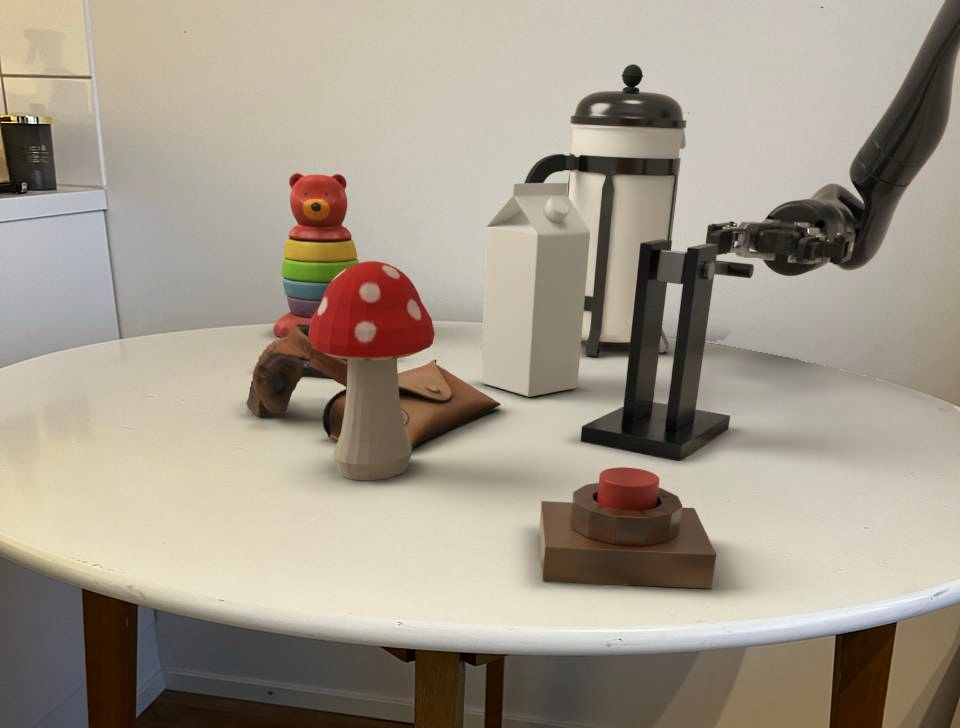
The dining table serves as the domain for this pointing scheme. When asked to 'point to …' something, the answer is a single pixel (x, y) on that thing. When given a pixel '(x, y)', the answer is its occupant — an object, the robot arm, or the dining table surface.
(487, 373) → the milk carton
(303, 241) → the stacking bear
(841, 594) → the dining table surface
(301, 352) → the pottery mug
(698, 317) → the lever stand
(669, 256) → the stand lever
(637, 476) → the red button
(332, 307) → the decorative mushroom
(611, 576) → the button block
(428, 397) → the sunglasses case
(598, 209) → the coffee press
